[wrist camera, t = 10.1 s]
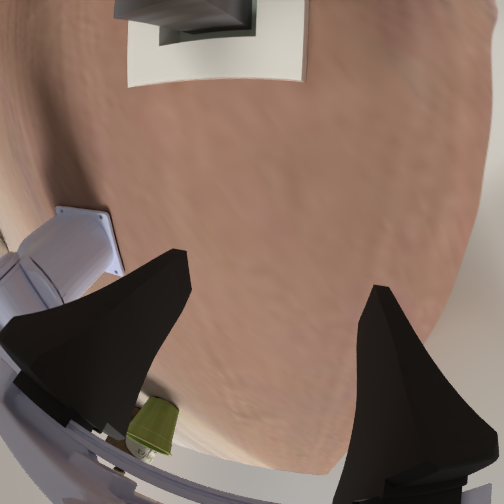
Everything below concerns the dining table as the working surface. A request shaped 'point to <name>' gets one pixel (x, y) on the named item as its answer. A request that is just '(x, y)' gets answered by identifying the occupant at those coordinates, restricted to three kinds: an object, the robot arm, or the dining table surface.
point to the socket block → (224, 48)
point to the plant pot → (154, 425)
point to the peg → (188, 14)
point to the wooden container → (132, 447)
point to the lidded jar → (3, 248)
